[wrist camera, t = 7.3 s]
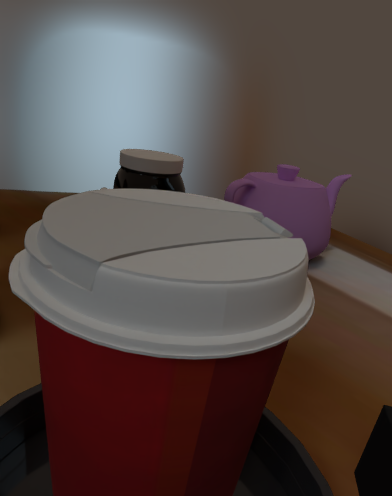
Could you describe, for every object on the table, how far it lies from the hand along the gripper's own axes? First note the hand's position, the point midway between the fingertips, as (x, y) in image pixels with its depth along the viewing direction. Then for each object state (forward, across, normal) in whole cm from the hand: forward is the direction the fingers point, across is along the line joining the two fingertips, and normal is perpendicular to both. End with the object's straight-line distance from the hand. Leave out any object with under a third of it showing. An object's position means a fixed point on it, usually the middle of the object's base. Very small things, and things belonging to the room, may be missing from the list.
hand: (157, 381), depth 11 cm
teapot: (+40, +6, -9) cm, 41 cm away
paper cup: (0, 0, -9) cm, 9 cm away
